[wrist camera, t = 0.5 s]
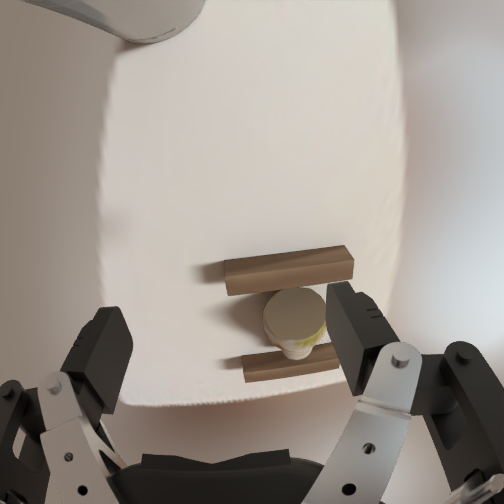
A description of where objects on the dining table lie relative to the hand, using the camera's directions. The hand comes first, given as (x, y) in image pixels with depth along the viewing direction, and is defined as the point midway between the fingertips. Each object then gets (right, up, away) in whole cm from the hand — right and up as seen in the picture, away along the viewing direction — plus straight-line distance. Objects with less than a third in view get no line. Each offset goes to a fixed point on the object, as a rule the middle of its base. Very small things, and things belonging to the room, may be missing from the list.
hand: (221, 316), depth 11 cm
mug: (+6, -5, +25) cm, 26 cm away
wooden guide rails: (+6, -5, +25) cm, 26 cm away
